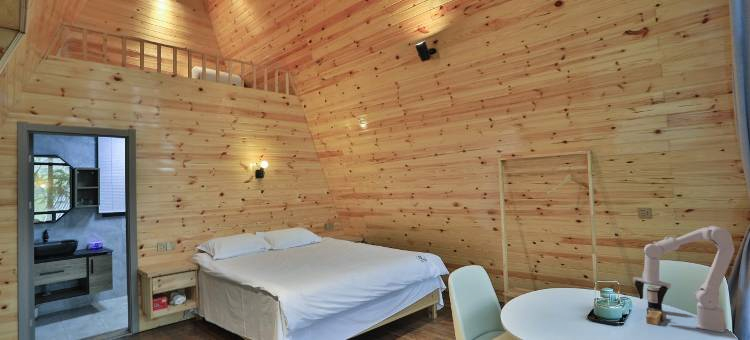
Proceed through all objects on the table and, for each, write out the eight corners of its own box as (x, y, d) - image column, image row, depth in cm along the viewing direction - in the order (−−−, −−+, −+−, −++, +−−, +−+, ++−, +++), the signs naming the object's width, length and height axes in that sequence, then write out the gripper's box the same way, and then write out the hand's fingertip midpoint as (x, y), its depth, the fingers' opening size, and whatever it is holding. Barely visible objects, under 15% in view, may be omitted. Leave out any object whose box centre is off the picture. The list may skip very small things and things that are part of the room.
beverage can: (664, 313, 201) (662, 288, 201) (651, 313, 202) (649, 288, 202) (658, 309, 206) (657, 285, 207) (646, 309, 207) (644, 285, 208)
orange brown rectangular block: (662, 319, 194) (662, 311, 194) (657, 326, 185) (656, 318, 185) (652, 317, 196) (651, 310, 197) (646, 324, 188) (646, 316, 188)
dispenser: (666, 318, 193) (665, 307, 194) (663, 321, 189) (662, 310, 190) (650, 315, 198) (649, 305, 198) (647, 318, 194) (646, 308, 194)
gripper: (630, 268, 192) (630, 298, 192) (668, 275, 181) (667, 306, 181) (636, 266, 197) (635, 295, 196) (672, 273, 186) (671, 303, 186)
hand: (650, 300), depth 189 cm, fingers open, 7 cm apart
